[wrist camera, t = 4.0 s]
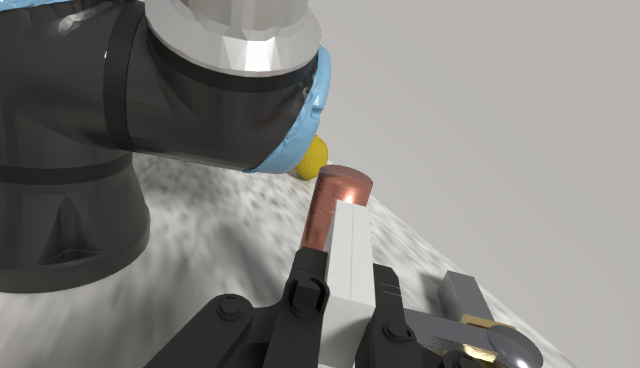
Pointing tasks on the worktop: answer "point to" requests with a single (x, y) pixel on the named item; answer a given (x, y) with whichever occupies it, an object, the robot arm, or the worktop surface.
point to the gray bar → (466, 305)
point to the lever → (491, 345)
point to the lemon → (313, 159)
